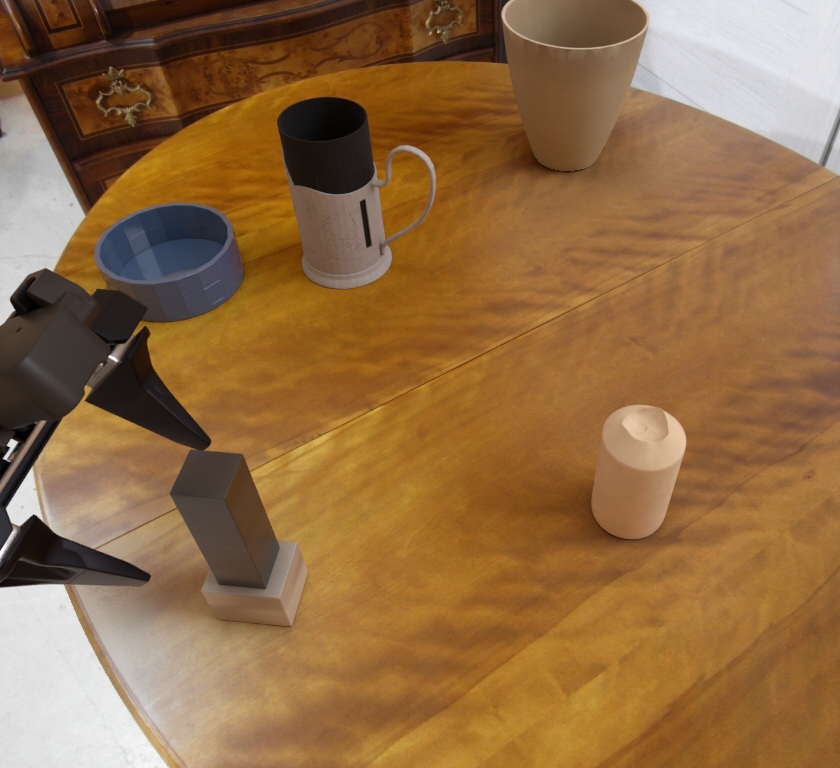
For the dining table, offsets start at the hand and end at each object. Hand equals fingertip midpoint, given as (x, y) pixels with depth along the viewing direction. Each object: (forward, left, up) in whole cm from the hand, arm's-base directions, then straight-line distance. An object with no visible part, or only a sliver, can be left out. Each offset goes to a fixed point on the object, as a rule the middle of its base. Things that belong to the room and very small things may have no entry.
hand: (179, 509), depth 45 cm
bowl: (-13, +32, -10) cm, 36 cm away
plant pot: (+24, +56, -10) cm, 62 cm away
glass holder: (+5, +35, -10) cm, 37 cm away
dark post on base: (+3, 0, -10) cm, 10 cm away
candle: (+28, +8, -10) cm, 31 cm away
